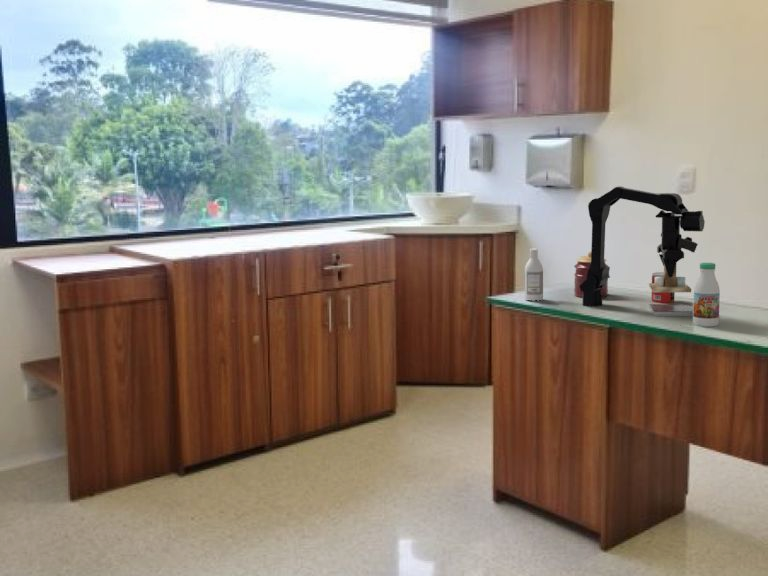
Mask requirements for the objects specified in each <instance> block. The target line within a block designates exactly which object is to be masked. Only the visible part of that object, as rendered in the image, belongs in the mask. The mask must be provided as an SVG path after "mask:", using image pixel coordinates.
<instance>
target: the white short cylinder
mask: <svg viewBox="0 0 768 576" xmlns="http://www.w3.org/2000/svg"><path fill="white" fill-rule="evenodd" d="M654 286H656V287H663V286H664V277H655V283H654Z"/></svg>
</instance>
